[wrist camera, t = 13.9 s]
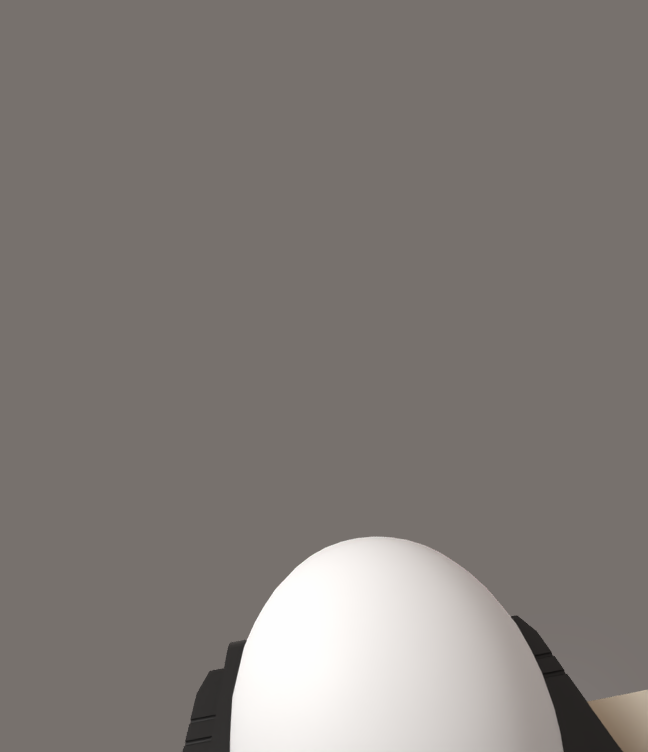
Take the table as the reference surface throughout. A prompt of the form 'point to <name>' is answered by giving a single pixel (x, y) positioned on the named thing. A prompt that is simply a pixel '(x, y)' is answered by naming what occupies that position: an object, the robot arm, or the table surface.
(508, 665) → the lightbulb
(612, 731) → the stool
